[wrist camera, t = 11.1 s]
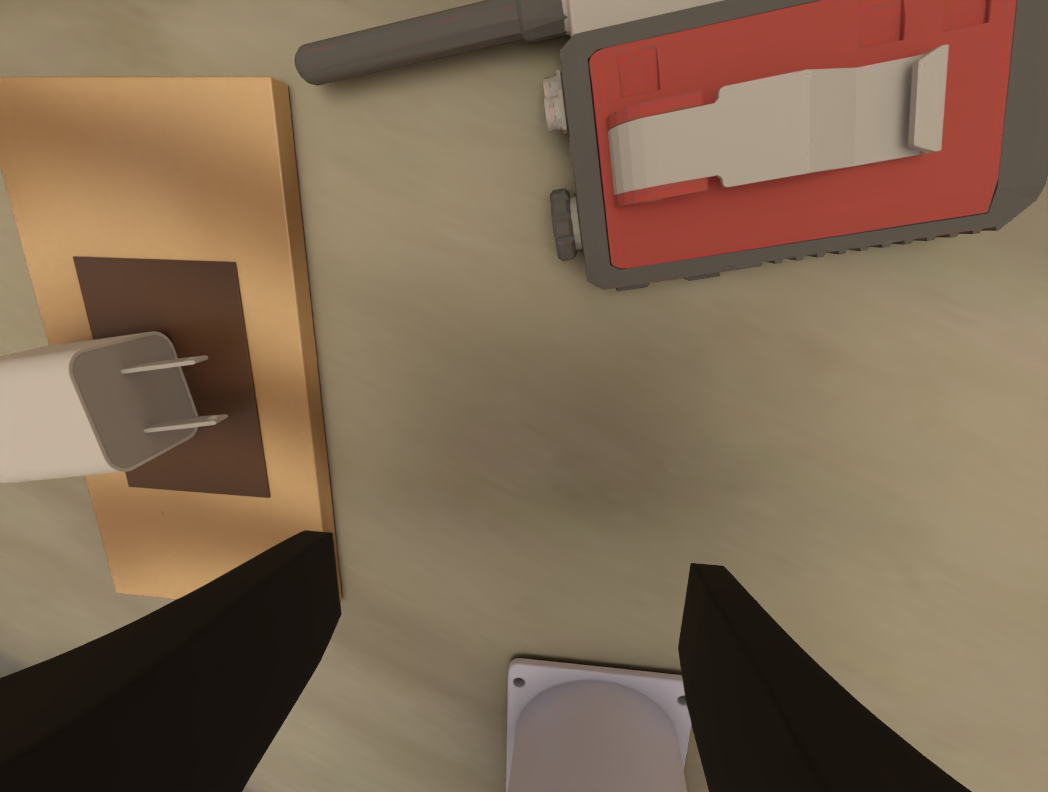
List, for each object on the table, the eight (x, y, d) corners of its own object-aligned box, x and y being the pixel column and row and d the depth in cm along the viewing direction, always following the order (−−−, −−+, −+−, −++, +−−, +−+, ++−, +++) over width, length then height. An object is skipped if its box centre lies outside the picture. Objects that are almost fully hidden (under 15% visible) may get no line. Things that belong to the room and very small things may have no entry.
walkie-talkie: (1037, -136, 13) (310, 41, 16) (1252, -306, 9) (214, -23, 12) (999, 225, 16) (378, 319, 19) (1150, 226, 11) (319, 346, 14)
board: (342, 599, 23) (331, 617, 22) (134, 579, 24) (114, 594, 23) (288, 84, 17) (268, 75, 16) (8, 85, 17) (-29, 76, 16)
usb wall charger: (63, 342, 19) (-65, 371, 15) (232, 318, 18) (139, 342, 14) (105, 441, 20) (-5, 491, 16) (266, 424, 19) (188, 473, 15)
